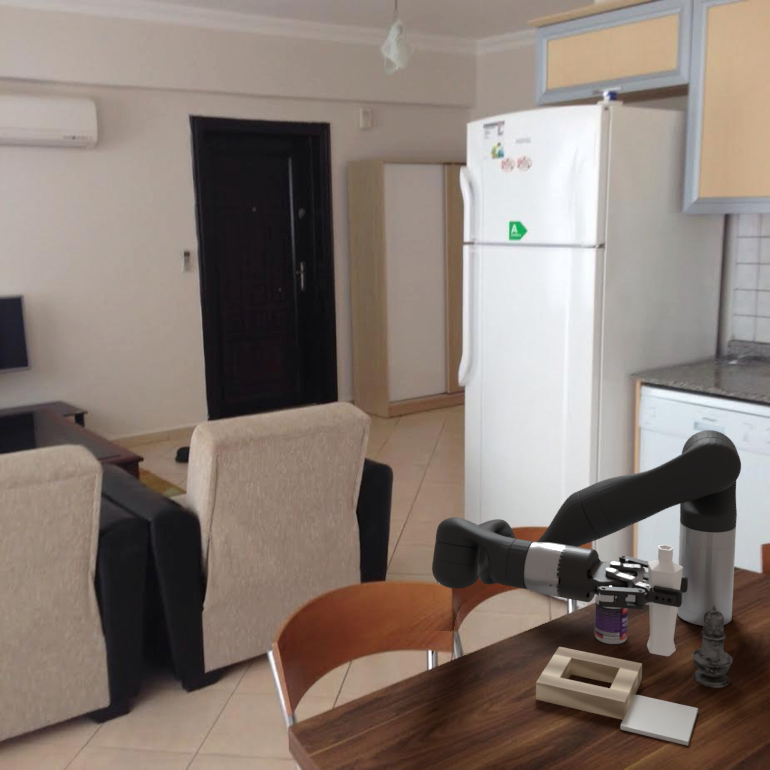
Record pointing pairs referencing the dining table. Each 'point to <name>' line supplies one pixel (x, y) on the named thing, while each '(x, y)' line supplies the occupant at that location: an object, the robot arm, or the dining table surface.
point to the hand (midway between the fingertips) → (684, 591)
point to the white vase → (662, 615)
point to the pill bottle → (610, 623)
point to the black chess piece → (712, 653)
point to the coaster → (660, 719)
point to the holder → (588, 696)
